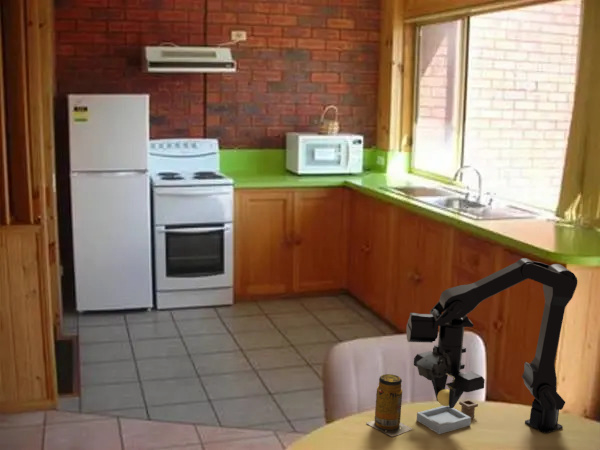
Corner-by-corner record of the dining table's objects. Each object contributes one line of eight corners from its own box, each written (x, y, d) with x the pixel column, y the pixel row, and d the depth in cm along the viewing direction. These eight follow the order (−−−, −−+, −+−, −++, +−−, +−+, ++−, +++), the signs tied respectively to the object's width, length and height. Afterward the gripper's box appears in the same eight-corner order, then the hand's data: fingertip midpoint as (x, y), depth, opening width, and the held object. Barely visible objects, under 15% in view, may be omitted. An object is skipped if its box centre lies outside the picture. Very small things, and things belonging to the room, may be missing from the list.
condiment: (387, 416, 182) (390, 370, 179) (413, 429, 175) (416, 381, 173) (365, 423, 177) (368, 376, 175) (391, 438, 171) (395, 389, 168)
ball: (445, 400, 181) (446, 385, 180) (456, 407, 178) (458, 391, 177) (433, 403, 179) (434, 388, 178) (444, 410, 176) (445, 394, 175)
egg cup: (467, 410, 186) (468, 398, 186) (476, 416, 184) (478, 403, 183) (458, 413, 185) (459, 401, 184) (467, 418, 182) (468, 406, 181)
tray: (447, 411, 185) (447, 404, 185) (470, 425, 179) (470, 417, 178) (416, 420, 180) (417, 412, 180) (439, 434, 173) (439, 426, 173)
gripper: (398, 335, 179) (394, 396, 182) (452, 362, 163) (447, 427, 167) (433, 328, 185) (428, 387, 188) (489, 353, 169) (482, 417, 172)
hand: (445, 404), depth 178 cm, fingers closed on ball, 4 cm apart
